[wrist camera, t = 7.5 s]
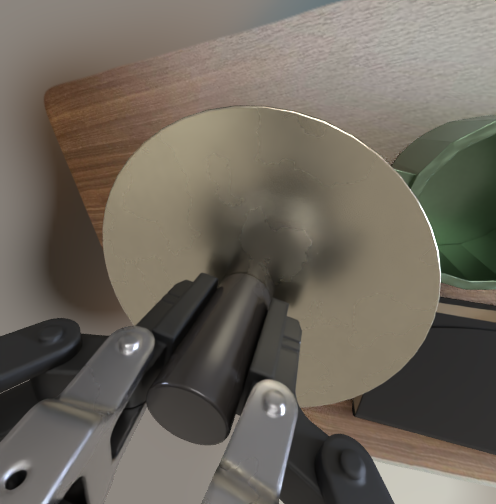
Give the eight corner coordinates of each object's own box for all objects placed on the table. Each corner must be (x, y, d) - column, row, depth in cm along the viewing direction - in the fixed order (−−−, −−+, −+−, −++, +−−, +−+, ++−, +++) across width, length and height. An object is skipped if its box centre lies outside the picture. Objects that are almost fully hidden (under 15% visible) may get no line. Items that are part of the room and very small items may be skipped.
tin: (391, 97, 25) (420, 83, 17) (614, 144, 22) (759, 151, 15) (338, 223, 31) (343, 252, 24) (505, 271, 29) (567, 321, 21)
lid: (114, 67, 10) (-197, -26, 4) (529, 170, 8) (1144, 290, 2) (122, 332, 17) (16, 439, 11) (341, 422, 15) (351, 610, 9)
